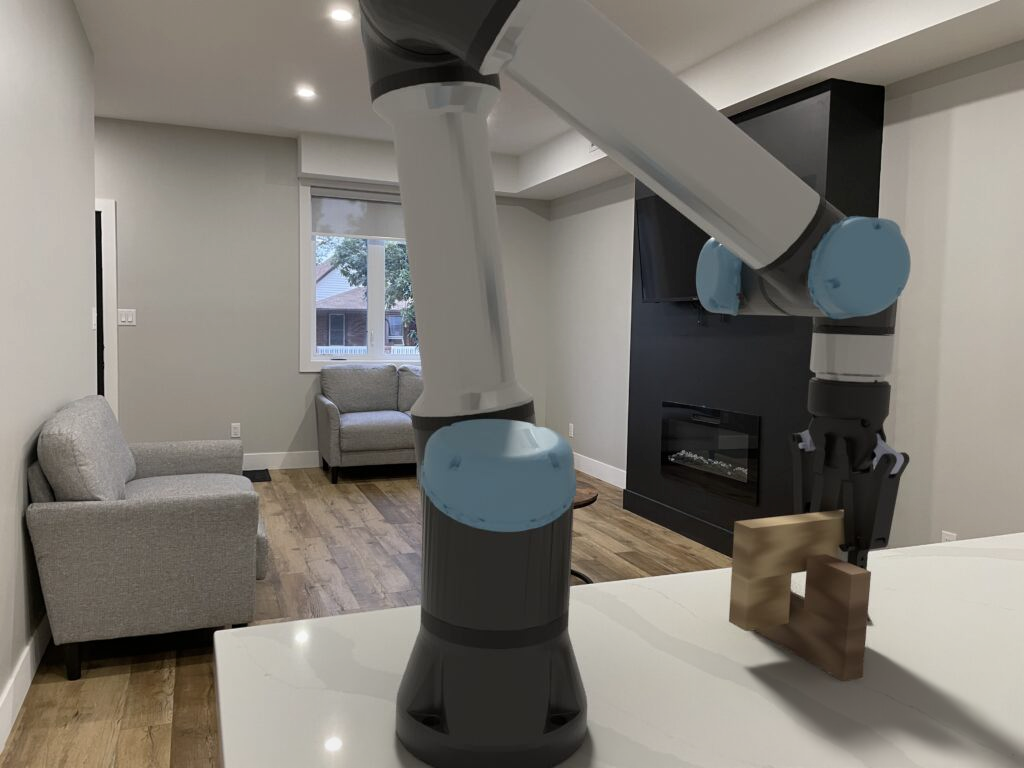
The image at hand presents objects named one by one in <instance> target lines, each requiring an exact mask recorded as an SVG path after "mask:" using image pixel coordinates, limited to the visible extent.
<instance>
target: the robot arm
mask: <svg viewBox="0 0 1024 768" xmlns="http://www.w3.org/2000/svg"><path fill="white" fill-rule="evenodd" d="M357 1H358V7H359V14H360V32H361V40H362V43H363V44H362V45H363V47H364V52H365V60H366V69H367V75H368V83H369V90H370V98H371V99H370V100H371V105H372V107H371V108H372V110H373V112H374V113H375V114H376V115H377V116H379V117H380V118H381V119H382V120H384V122H386V123H387V124H388V125H389V126H390V128H391V131H392V138H393V145H394V154H395V160H396V161H395V162H396V170H397V179H398V186H399V195H400V196H399V197H400V203H401V211H402V218H403V229H404V235H405V236H404V237H405V244H406V253H407V261H408V267H409V276H410V277H409V279H410V284H411V294H412V300H413V308H414V309H413V310H414V318H415V324H416V325H415V326H416V334H417V342H418V351H419V357H420V358H419V359H420V368H421V375H422V381H423V390H422V393H421V394H420V396H419V397H418V398H417V399H416V401H415V402H414V403H413V405H412V406H411V407H410V410H409V411H410V418H411V428H412V434H413V435H412V436H413V445H414V451H415V459H416V481H417V486H418V491H419V494H420V507H421V508H420V509H421V573H420V574H421V575H420V577H421V579H420V580H421V582H420V623H419V625H420V626H419V630H418V633H417V635H416V638H415V642H414V644H413V647H412V649H411V650H412V651H411V653H410V656H409V659H408V660H407V661H408V662H407V664H406V668H405V669H404V672H403V676H402V679H401V682H400V684H399V687H398V690H397V693H396V702H395V704H396V705H395V729H396V733H397V737H398V738H399V740H400V741H401V743H402V744H403V746H404V747H405V748H406V749H407V750H408V751H409V752H410V753H412V754H413V755H414V756H416V757H417V758H419V759H420V760H422V761H424V762H426V763H428V764H430V765H432V766H434V767H435V768H436V767H437V768H550V767H552V766H554V765H557V764H559V763H562V762H563V761H564V760H566V759H567V758H568V757H570V756H571V755H573V754H574V753H575V752H576V751H577V750H578V749H579V748H580V746H581V745H582V743H583V742H584V740H585V737H586V734H587V728H588V727H587V724H588V723H587V722H588V698H587V693H586V690H585V687H584V683H583V679H582V675H581V672H580V668H579V664H578V662H577V659H576V658H577V657H576V655H575V652H574V648H573V647H574V646H573V643H572V640H571V637H570V634H569V617H570V615H569V614H570V598H571V597H570V596H571V574H572V571H571V570H572V554H573V553H572V552H573V551H572V548H573V529H574V528H573V527H574V524H573V523H574V509H575V507H574V504H575V496H576V494H577V483H578V479H577V475H576V470H575V457H574V451H573V448H572V447H571V445H570V442H568V441H567V439H566V438H564V436H562V434H560V433H558V432H557V431H554V430H552V429H550V428H549V427H548V428H547V427H544V426H540V427H539V426H537V421H536V411H535V403H534V395H533V393H531V392H530V391H529V390H528V389H526V388H525V387H524V386H523V385H521V383H519V382H518V380H517V379H516V377H515V367H514V366H515V365H514V358H513V349H512V348H513V347H512V340H511V339H512V338H511V329H510V322H509V321H510V320H509V311H508V303H507V302H508V301H507V293H506V283H505V274H504V267H503V265H504V264H503V257H502V255H503V254H502V247H501V245H502V244H501V238H500V237H501V236H500V229H499V228H500V227H499V220H498V219H499V218H498V210H497V209H498V208H497V201H496V193H495V192H496V191H495V181H494V172H493V162H492V155H491V144H490V143H491V142H490V135H489V126H488V118H489V116H490V114H491V113H492V112H493V110H494V109H495V108H496V106H497V105H498V104H499V103H500V101H501V100H502V89H501V80H500V74H502V75H504V76H505V77H507V78H508V79H510V80H511V81H512V83H515V84H516V85H517V86H518V87H519V88H521V89H522V90H524V91H525V92H526V93H528V94H529V95H530V96H531V97H532V98H534V99H536V101H538V102H539V103H540V104H542V106H544V107H546V109H548V110H549V111H550V112H552V113H553V114H554V115H555V116H557V117H558V118H559V119H561V121H563V122H564V123H566V124H567V125H569V126H570V127H571V128H572V129H573V130H575V131H576V132H577V133H578V134H580V135H581V136H582V137H584V139H586V140H587V141H588V142H590V143H592V144H593V145H594V146H596V148H597V149H599V150H600V151H601V152H602V153H604V154H605V155H607V156H608V157H609V158H611V160H613V161H614V162H616V163H617V164H618V165H619V166H620V167H622V168H623V169H624V170H626V171H627V172H628V173H630V174H631V175H632V176H634V177H635V178H636V179H637V180H638V181H640V182H641V183H642V184H643V185H645V186H646V187H647V188H648V189H650V190H651V191H653V192H654V194H655V193H656V195H658V196H659V197H660V198H661V199H662V200H664V201H665V202H666V203H668V204H669V205H670V206H671V207H673V208H674V209H676V210H677V211H678V212H680V214H682V215H683V216H684V217H686V218H687V219H688V220H689V221H691V222H692V223H693V224H694V225H696V226H697V227H698V228H699V229H701V230H703V232H705V233H706V234H707V235H708V236H710V239H708V240H707V241H706V242H705V243H704V245H703V246H702V248H701V250H700V253H699V256H698V260H697V265H696V274H695V284H696V285H695V287H696V292H697V297H698V299H699V302H700V304H701V306H702V307H703V308H704V309H705V310H706V311H708V312H709V313H715V314H725V315H731V316H737V315H748V316H749V315H753V316H754V315H755V316H779V317H780V316H783V317H784V316H785V317H786V316H790V317H791V316H794V317H795V316H796V317H812V337H811V338H812V340H811V349H810V350H811V352H810V361H809V362H810V363H809V370H810V371H811V372H813V373H815V376H814V377H811V378H810V380H809V383H808V393H807V395H808V396H807V411H808V412H809V413H810V414H812V418H811V421H810V422H809V425H808V427H807V428H808V429H806V430H804V431H802V432H795V433H790V434H789V435H788V437H787V439H788V443H789V447H790V450H791V454H792V474H793V475H792V478H793V479H792V480H793V483H792V484H793V515H799V514H808V513H817V512H826V511H835V510H837V508H838V501H839V497H840V489H841V485H842V499H843V500H842V501H843V505H842V506H843V510H844V542H845V544H841V545H839V547H840V548H837V559H840V560H842V561H845V562H847V563H850V564H852V565H855V566H858V567H860V568H863V569H865V570H867V569H868V557H869V552H870V551H871V550H877V549H884V548H887V547H888V546H889V545H888V544H889V540H890V536H891V530H892V523H893V520H894V514H895V509H896V502H897V498H898V492H899V488H900V481H901V477H902V476H903V474H904V471H905V470H906V468H907V467H908V465H909V463H910V456H909V454H908V453H906V452H905V451H904V452H897V451H896V450H895V449H893V448H892V447H891V446H890V445H889V444H887V436H886V432H885V430H884V423H885V420H886V419H887V418H888V416H890V415H889V414H890V403H891V393H892V392H891V391H892V385H891V384H890V382H889V381H886V380H885V377H889V376H890V375H892V373H893V360H894V359H893V358H894V347H895V332H896V331H895V330H896V322H897V312H898V311H897V310H898V301H899V297H900V296H901V294H902V292H903V291H904V290H905V287H906V285H907V283H908V280H909V277H910V273H911V266H912V265H911V252H910V250H909V247H908V244H907V242H906V240H905V238H904V236H903V235H902V231H901V227H900V226H899V224H898V223H897V222H895V221H894V220H891V219H887V218H883V217H881V218H880V217H871V216H870V217H869V216H868V217H867V216H859V215H854V216H846V215H845V214H844V213H843V212H841V210H839V209H837V208H836V206H834V205H833V204H831V203H830V202H829V201H827V200H826V199H825V198H824V197H823V196H822V195H820V194H819V193H818V192H817V191H815V190H814V189H813V188H812V187H811V186H809V185H808V184H807V183H806V182H805V181H803V180H802V179H801V178H800V177H799V176H797V175H796V174H795V173H794V172H793V171H792V170H790V169H789V168H788V167H787V166H785V164H783V163H782V162H781V161H779V160H778V159H777V158H776V157H775V156H773V155H772V154H771V153H770V152H769V151H768V150H767V149H765V148H764V147H762V145H760V144H759V143H758V142H757V141H755V140H754V139H753V138H752V137H750V136H749V135H748V134H747V133H746V132H744V131H743V130H742V129H741V128H740V127H739V126H737V125H736V124H735V123H734V122H733V121H731V120H730V119H729V118H728V117H726V116H725V115H724V114H723V113H722V112H720V111H719V110H718V109H717V108H716V107H714V106H713V105H712V104H711V103H710V102H708V101H707V100H706V99H705V98H703V96H701V95H700V94H699V93H697V92H696V91H695V90H694V89H693V88H692V87H690V86H689V85H688V84H687V83H685V81H683V79H681V78H680V77H678V76H677V75H676V74H675V73H673V72H672V71H671V70H670V69H668V68H667V67H666V66H665V65H664V64H663V63H661V62H660V61H659V60H658V59H657V58H656V57H654V56H653V55H652V54H651V53H649V52H648V51H647V50H646V49H645V48H643V46H642V45H640V44H638V43H637V42H636V41H635V40H634V39H632V38H631V37H630V36H629V35H628V34H626V33H625V32H624V31H623V30H622V29H621V28H619V27H618V26H617V25H616V24H614V23H613V22H612V21H611V20H610V19H608V18H607V16H605V15H604V14H603V13H602V12H600V11H599V10H598V9H596V8H595V7H594V6H593V5H592V4H590V2H588V1H587V0H357ZM858 537H859V538H858Z"/></svg>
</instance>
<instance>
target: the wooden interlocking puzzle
mask: <svg viewBox="0 0 1024 768" xmlns="http://www.w3.org/2000/svg"><path fill="white" fill-rule="evenodd" d="M733 525H734V526H733V527H734V528H733V542H732V543H733V544H732V545H733V546H732V561H731V562H732V563H731V577H730V578H731V579H730V595H729V612H728V613H729V614H728V616H729V617H728V622H729V623H731V624H732V625H734V626H736V627H737V628H740V629H741V630H743V631H745V632H747V631H755V630H754V629H760V628H765V627H771V626H776V625H781V624H787V623H788V622H789V607H790V591H791V590H792V576H793V574H797V573H804V572H805V573H806V570H807V557H809V556H816V555H824V554H827V555H829V556H832V557H835V558H837V548H840V547H839V545H841V544H845V542H844V509H836V510H835V511H826V512H817V513H806V514H799V515H794V514H791V515H782V516H781V515H780V516H772V517H764V518H754V519H746V520H745V519H744V520H738V521H737V520H736V521H734V524H733ZM858 538H859V537H858Z"/></svg>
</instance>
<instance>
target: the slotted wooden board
mask: <svg viewBox="0 0 1024 768" xmlns="http://www.w3.org/2000/svg"><path fill="white" fill-rule="evenodd" d="M871 576H872V571H870V570H865V569H863V568H860V567H858V566H855V565H852V564H850V563H847V562H845V561H842V560H840V559H837V558H835V557H832V556H829V555H827V554H824V555H816V556H809V557H807V570H806V572H805V586H804V596H803V595H801V594H798V593H796V592H794V591H793V590H792V591H790V607H789V622H788V623H787V624H781V625H776V626H771V627H765V628H760V629H754V630H753V631H755V632H757V633H758V634H760V635H762V636H763V637H765V638H767V639H769V640H770V641H773V642H774V643H775V644H778V645H779V646H781V647H783V648H784V649H786V650H789V652H792V653H794V654H796V655H797V656H799V657H800V658H802V659H804V660H805V661H807V662H809V663H811V664H813V665H814V666H816V667H817V668H820V669H821V670H824V672H827V673H828V674H830V675H832V676H834V677H836V678H837V679H839V680H841V681H843V682H845V681H846V682H847V681H850V680H855V679H858V678H859V679H860V678H863V675H864V665H865V654H866V653H865V652H866V651H865V650H866V639H867V629H868V628H867V627H868V615H869V604H870V602H869V601H870V592H871V591H870V590H871V579H872V578H871Z"/></svg>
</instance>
